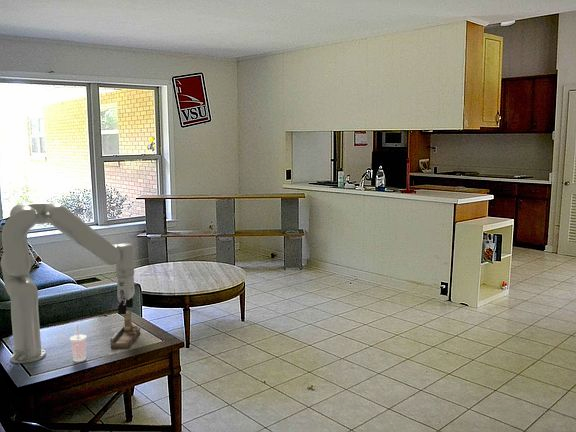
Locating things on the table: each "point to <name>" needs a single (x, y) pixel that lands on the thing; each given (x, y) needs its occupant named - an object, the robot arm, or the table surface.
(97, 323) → the table surface
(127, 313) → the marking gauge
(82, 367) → the table surface
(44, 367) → the table surface
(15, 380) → the table surface
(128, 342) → the wooden slotted block
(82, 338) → the beverage cup
